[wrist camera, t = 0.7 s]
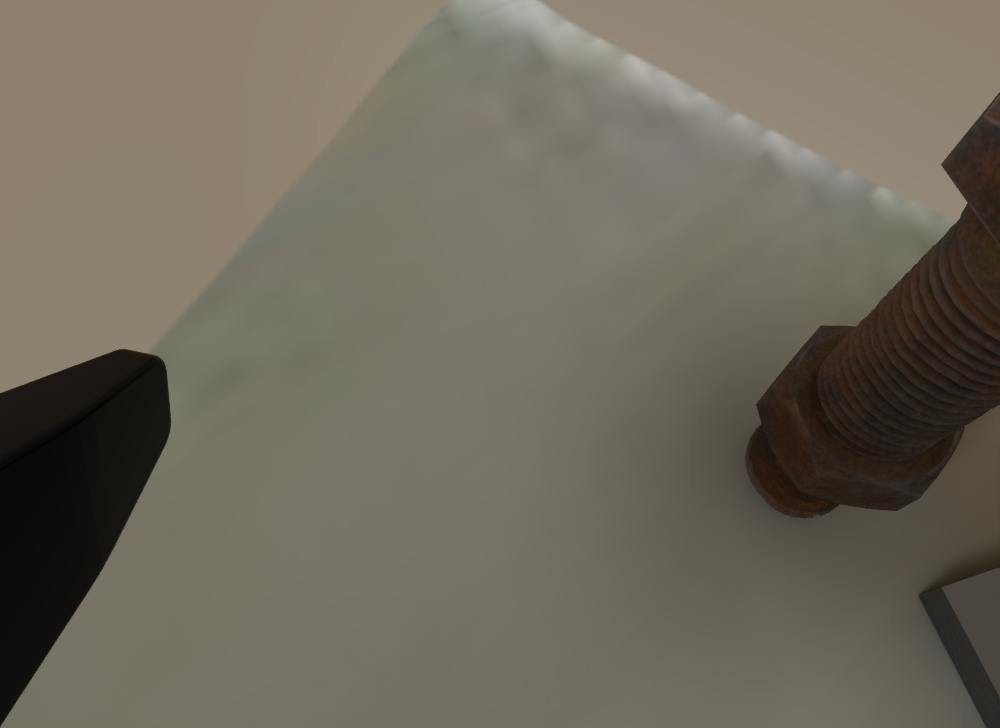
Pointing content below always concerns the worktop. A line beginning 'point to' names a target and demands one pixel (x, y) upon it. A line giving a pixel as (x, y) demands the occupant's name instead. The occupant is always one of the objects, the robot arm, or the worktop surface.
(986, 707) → the socket plate
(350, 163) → the worktop surface
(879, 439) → the bolt
